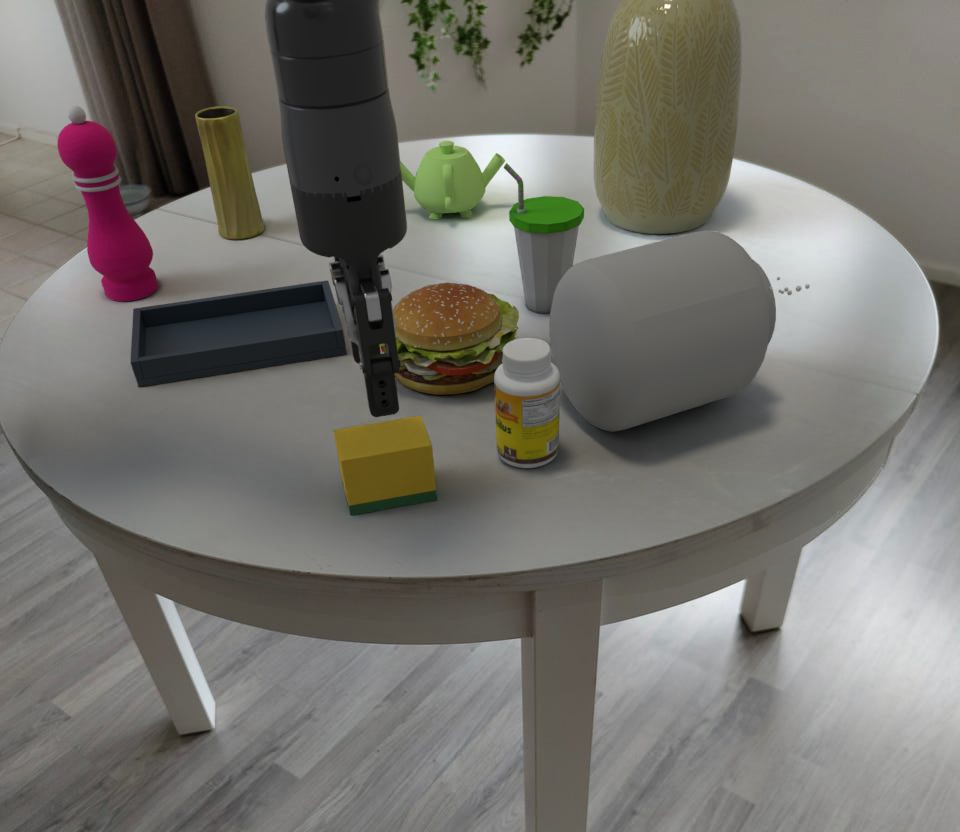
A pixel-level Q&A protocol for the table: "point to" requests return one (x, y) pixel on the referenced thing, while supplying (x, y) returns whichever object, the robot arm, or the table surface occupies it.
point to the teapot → (450, 180)
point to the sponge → (386, 464)
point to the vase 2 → (667, 112)
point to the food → (451, 337)
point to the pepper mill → (106, 210)
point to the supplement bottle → (527, 404)
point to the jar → (660, 328)
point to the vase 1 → (229, 173)
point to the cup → (544, 242)
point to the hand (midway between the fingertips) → (375, 386)
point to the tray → (235, 333)
